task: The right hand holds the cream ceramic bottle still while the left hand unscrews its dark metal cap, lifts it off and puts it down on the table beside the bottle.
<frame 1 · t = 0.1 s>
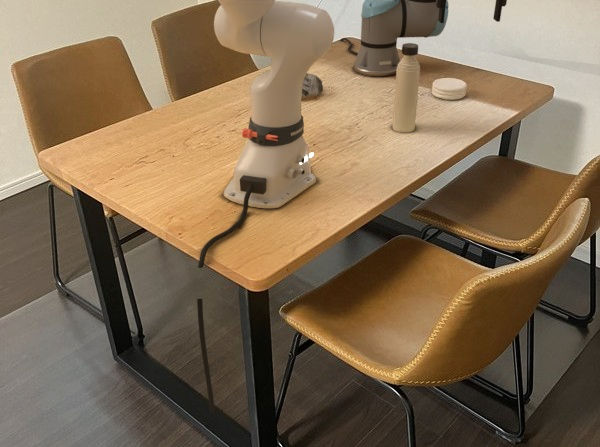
right hand: (468, 21, 150), 28 cm above the table, tool pointing down, fingers open, 13 cm apart
cap: (410, 46, 154), point 22 cm above the table, screwed on, not yet turned
bottle: (403, 127, 166), on the table
cream round flat disc: (448, 94, 186), on the table
rock: (298, 93, 189), on the table
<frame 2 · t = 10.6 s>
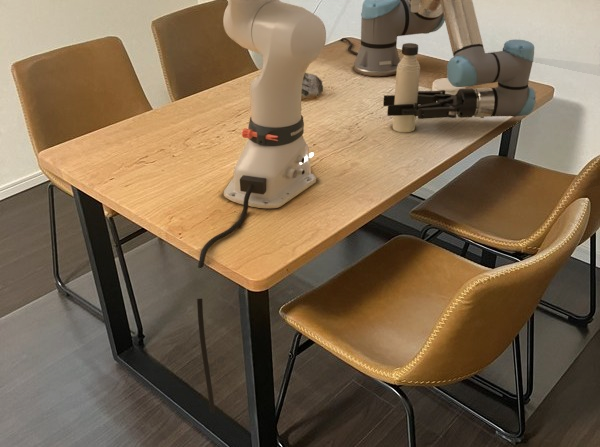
left hand: (413, 7, 149), 31 cm above the table, tool pointing down, fingers open, 6 cm apart
right hand: (386, 105, 162), 6 cm above the table, tool horizontal, fingers closed on bottle, 6 cm apart
bottle: (403, 127, 166), on the table, touching right hand
everything else where it was.
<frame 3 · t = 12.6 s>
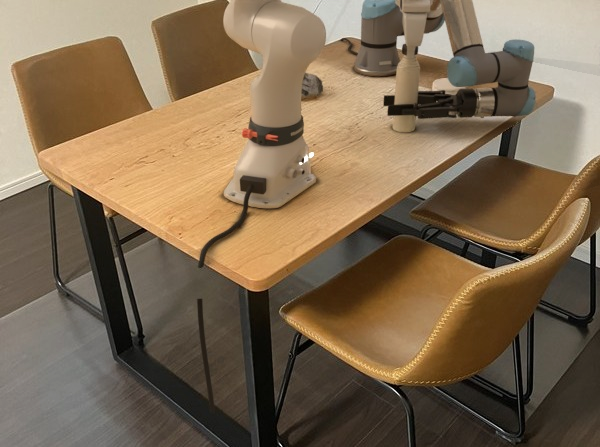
left hand: (409, 54, 155), 20 cm above the table, tool pointing down, fingers closed on cap, 4 cm apart
right hand: (386, 105, 162), 6 cm above the table, tool horizontal, fingers closed on bottle, 6 cm apart
cap: (410, 46, 154), point 22 cm above the table, screwed on, not yet turned, touching left hand
bottle: (403, 127, 166), on the table, touching right hand
everything else where it was.
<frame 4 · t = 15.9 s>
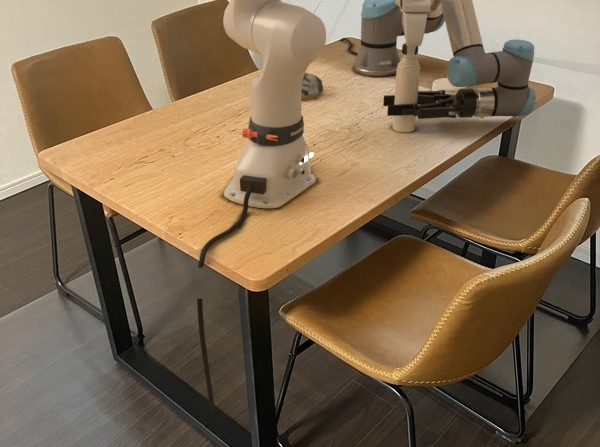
left hand: (409, 53, 155), 20 cm above the table, tool pointing down, fingers closed on cap, 4 cm apart
right hand: (386, 105, 162), 6 cm above the table, tool horizontal, fingers closed on bottle, 6 cm apart
cap: (410, 46, 154), point 22 cm above the table, turned 75° so far, risen 0.1 cm, still on its thread, touching left hand
bottle: (403, 127, 166), on the table, touching right hand
everything else where it was.
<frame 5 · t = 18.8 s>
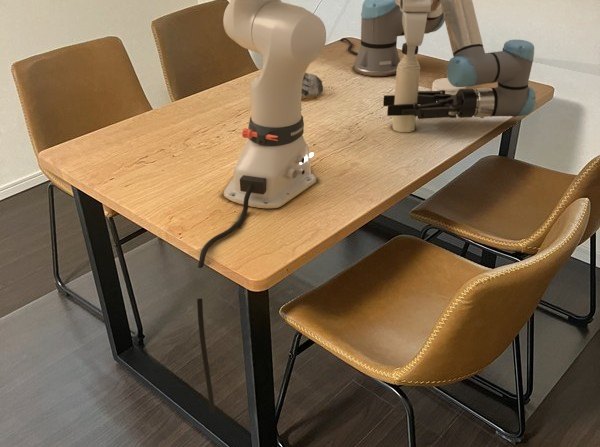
left hand: (409, 53, 155), 20 cm above the table, tool pointing down, fingers closed on cap, 4 cm apart
right hand: (385, 105, 162), 6 cm above the table, tool horizontal, fingers closed on bottle, 6 cm apart
cap: (410, 45, 154), point 22 cm above the table, turned 150° so far, risen 0.1 cm, still on its thread, touching left hand
bottle: (403, 127, 166), on the table, touching right hand
everything else where it was.
when the left hand's fingers open (2 cm above the table, at t = 34.9 s): cap drops 2 cm, point 2 cm above the table.
when the right hand's fingers open (6 cm above the table, at t = 36.0 s): bottle stays where it is, on the table.
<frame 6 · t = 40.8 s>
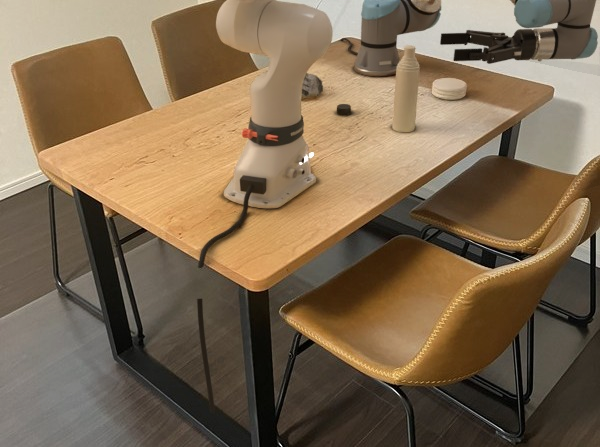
right hand: (447, 46, 154), 21 cm above the table, tool horizontal, fingers open, 13 cm apart
cap: (343, 107, 174), point 2 cm above the table, off its thread
bottle: (403, 127, 166), on the table
everything else where it was.
at the end: cap came off its thread; cap point 1.7 cm above the table; the left hand is holding nothing; the right hand is holding nothing; bottle tilted 0°; bottle moved 0.1 cm from its start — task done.
